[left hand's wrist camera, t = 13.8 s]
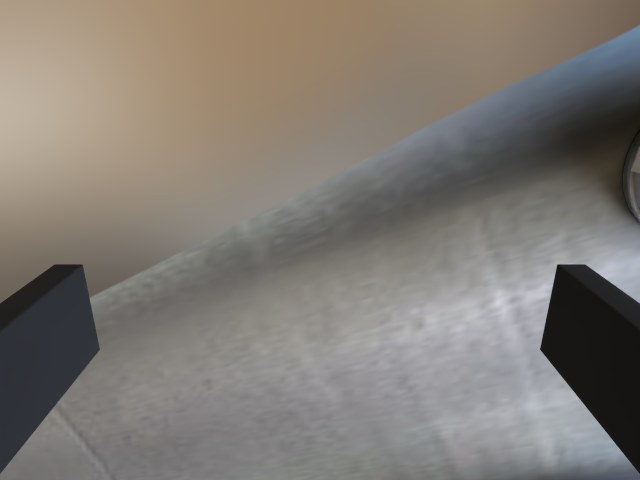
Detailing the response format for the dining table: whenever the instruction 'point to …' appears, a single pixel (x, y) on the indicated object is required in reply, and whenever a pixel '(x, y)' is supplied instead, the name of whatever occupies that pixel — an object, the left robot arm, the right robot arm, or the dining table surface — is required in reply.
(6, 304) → the left robot arm
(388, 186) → the dining table surface
